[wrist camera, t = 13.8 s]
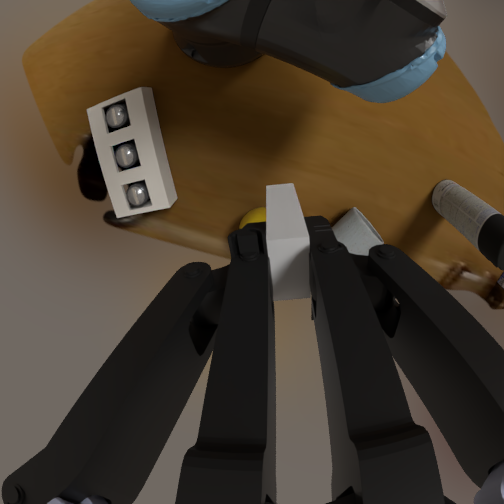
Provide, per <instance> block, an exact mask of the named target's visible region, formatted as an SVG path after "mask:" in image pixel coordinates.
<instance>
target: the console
mask: <svg viewBox="0 0 504 504" xmlns="http://www.w3.org/2000/svg"><path fill="white" fill-rule="evenodd" d="M125 100H126V104H127V109H128V114H129V118H130V123H131V126H128V127H125V128H122V129H119V130H117V131H114V132H111V133H109V131H108V126H107V122H106V118H105V113H104V109H106V108H108V107H110V106H113V105H115V104H118V103H120V102H123V101H125ZM87 113H88V118H89V123H90V127H91V131H92V136H93V140H94V144H95V148H96V151H97V155H98V159H99V162H100V166H101V169H102V173H103V176H104V180H105V183H106V186H107V189H108V192H109V195H110V198H111V201H112V205H113V208H114V210H115V213H116V216H117V218H120V217H125V216H130V215H134V214H139V213H144V212H150V211H155V210H160V209H165V208H170V207H171V206H172V205H173V203H174V202H175V201H176V200H177V199H178V198H177V194H176V191H175V187H174V183H173V179H172V175H171V171H170V167H169V163H168V159H167V155H166V151H165V147H164V143H163V138H162V134H161V129H160V125H159V120H158V116H157V111H156V106H155V101H154V96H153V91H152V88H151V87H139V88H137V89H134V90H131V91H129V92H126V93H123V94H121V95H118V96H116V97H114V98H111V99H109V100H107V101H104V102H102V103H100V104H97V105H95V106H93V107H91V108H89V109H87ZM131 139H134V140H135V144H136V148H137V152H138V156H139V160H140V164H141V166H139V167H135V168H131V169H128V170H124V171H121V172H119V169H118V166H117V162H116V159H115V155H114V151H113V147H112V146H114V145H116V144H119V143H122V142H125V141H128V140H131ZM144 179H145V182H146V185H147V189H148V192H149V196H150V199H151V200H150V201H146V202H145V203H144V204H143V205H142V206H133V205H129V202H128V199H127V196H126V193H125V190H124V187H123V185H125V184H128V183H132V182H136V181H140V180H144Z"/></svg>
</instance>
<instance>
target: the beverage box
mask: <svg viewBox="0 0 504 504" xmlns="http://www.w3.org/2000/svg"><path fill="white" fill-rule="evenodd" d="M497 282H498V283H499V284H500V286H501V287H502V288H503V289H504V272H503V274H502V276H501V277H500V279H499V280H498V281H497Z"/></svg>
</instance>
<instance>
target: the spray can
mask: <svg viewBox="0 0 504 504" xmlns="http://www.w3.org/2000/svg"><path fill="white" fill-rule="evenodd" d="M432 204H433V206H434V208H435V210H436V211H437V212H438V213H439V214H441V215H442V216H443V217H444V218H445V219H446V220H447V221H449V222H450V223H451V224H452V225H453V226H454V227H455V228H456V229H457V230H458V231H459V232H461V233H462V234H463V235H464V236H465V237H466V238H467V239H468V240H469V241H470V242H471V243H472V244H473V245H474V246H475V247H476V248H477V249H478V250H479V251H480V252H481V253H482V254H483V255H484V256H485V257H486V258H487V259H488V260H489V261H491V262H492V263H493V265H495V266H496V267H499V268H500V269H501V270H504V216H503V215H502V214H500V213H499V212H498V211H496V210H495V209H494V208H492V207H491V206H490V205H488V204H487V203H485V202H484V201H482V200H481V199H480V198H478V197H477V196H475V195H474V194H472V193H471V192H469V191H467V190H466V189H464V188H463V187H461V186H460V185H458V184H456V183H455V182H453V181H451V180H443V181H441V182H439V183H438V184H437V185H436V187H435V189H434V191H433V195H432Z"/></svg>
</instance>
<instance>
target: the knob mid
mask: <svg viewBox="0 0 504 504" xmlns="http://www.w3.org/2000/svg"><path fill="white" fill-rule="evenodd" d="M115 159H116V162H117V163H118V165H120V166H121V167H124V168H128V167H130V166H132V165H134V164H135V163H137V162H139V161H140V160H139V156H138V152H137V148H136V144H135V141H132V142H129V143H127V144H124V145H122V146H120V147H119V148H118V149H117V150H116V153H115Z"/></svg>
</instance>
